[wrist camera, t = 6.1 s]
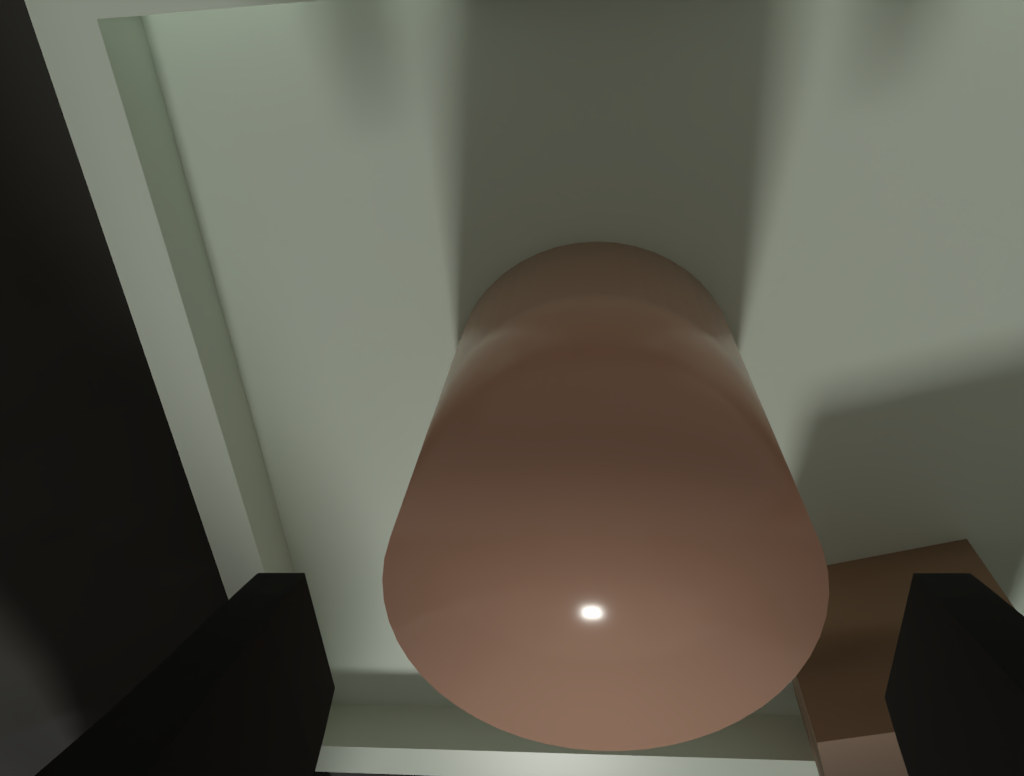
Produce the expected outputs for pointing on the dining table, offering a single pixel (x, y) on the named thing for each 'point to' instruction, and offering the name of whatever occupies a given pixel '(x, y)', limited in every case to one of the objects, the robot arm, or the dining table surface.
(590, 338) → the tan cylinder
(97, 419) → the dining table surface
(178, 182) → the tray
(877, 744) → the walnut block
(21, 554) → the dining table surface
